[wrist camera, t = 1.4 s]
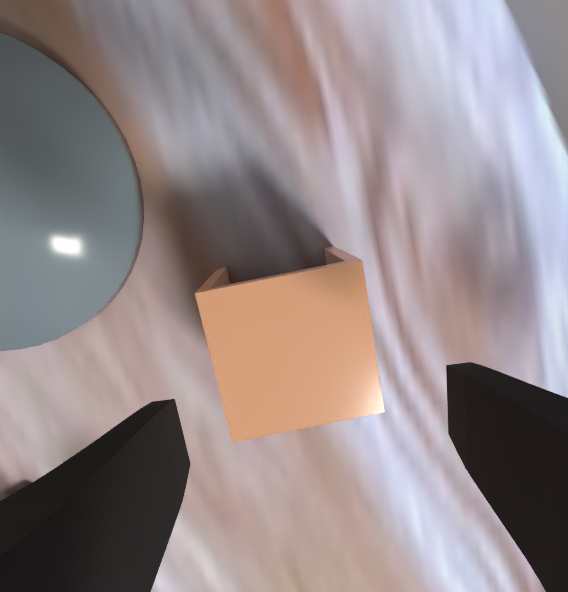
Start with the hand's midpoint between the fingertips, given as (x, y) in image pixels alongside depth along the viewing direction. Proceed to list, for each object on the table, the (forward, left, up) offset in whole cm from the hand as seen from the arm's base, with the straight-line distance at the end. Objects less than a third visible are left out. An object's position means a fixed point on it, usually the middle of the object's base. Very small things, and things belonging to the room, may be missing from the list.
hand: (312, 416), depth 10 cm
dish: (-9, +12, -10) cm, 18 cm away
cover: (0, 0, -10) cm, 10 cm away
